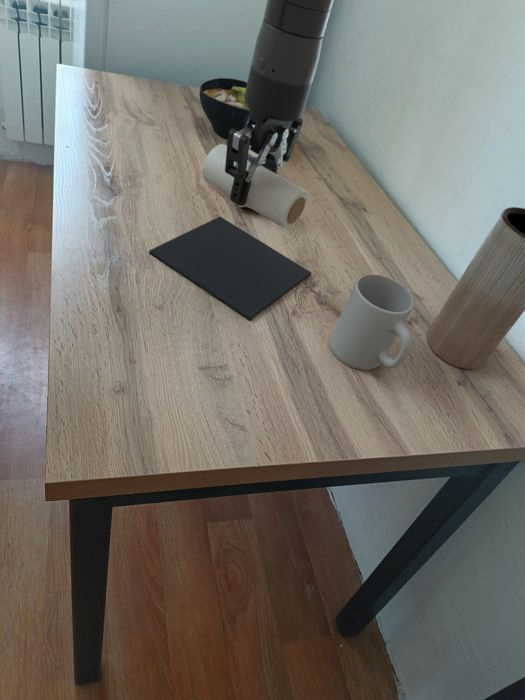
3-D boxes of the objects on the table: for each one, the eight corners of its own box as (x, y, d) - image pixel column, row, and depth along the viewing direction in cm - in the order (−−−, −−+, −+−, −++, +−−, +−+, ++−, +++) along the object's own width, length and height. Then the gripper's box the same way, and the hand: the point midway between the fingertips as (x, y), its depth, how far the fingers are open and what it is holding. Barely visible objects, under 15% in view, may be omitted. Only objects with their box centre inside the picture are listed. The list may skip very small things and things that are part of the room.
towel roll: (280, 235, 71) (291, 197, 68) (198, 185, 76) (204, 147, 72) (301, 222, 75) (313, 186, 72) (222, 176, 79) (230, 139, 76)
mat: (148, 253, 84) (149, 250, 84) (219, 219, 96) (220, 216, 96) (249, 320, 79) (250, 317, 78) (310, 275, 91) (311, 272, 91)
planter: (418, 322, 89) (491, 200, 74) (471, 330, 91) (553, 213, 76) (436, 366, 82) (521, 241, 67) (493, 373, 84) (588, 254, 69)
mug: (317, 335, 80) (343, 276, 73) (361, 325, 84) (389, 270, 77) (363, 394, 74) (397, 337, 66) (408, 381, 78) (444, 326, 70)
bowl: (184, 133, 118) (191, 86, 111) (206, 109, 131) (214, 66, 124) (257, 158, 118) (269, 113, 112) (273, 132, 131) (284, 90, 124)
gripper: (274, 90, 57) (241, 225, 69) (338, 74, 67) (299, 195, 79) (220, 62, 60) (196, 198, 71) (289, 51, 69) (258, 172, 81)
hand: (250, 196), depth 75 cm, fingers closed on towel roll, 5 cm apart
